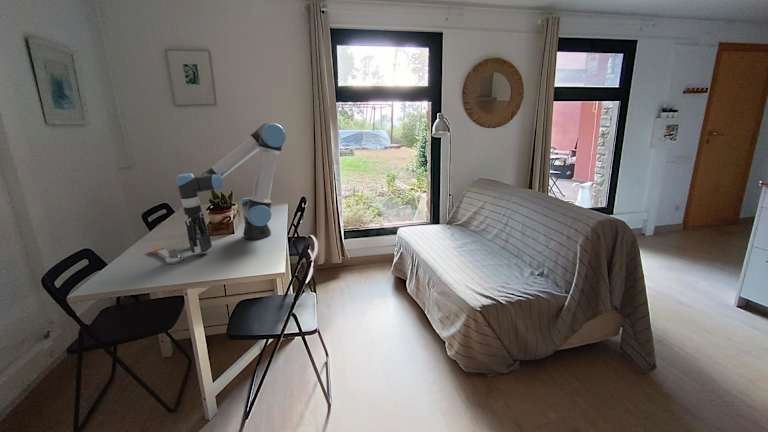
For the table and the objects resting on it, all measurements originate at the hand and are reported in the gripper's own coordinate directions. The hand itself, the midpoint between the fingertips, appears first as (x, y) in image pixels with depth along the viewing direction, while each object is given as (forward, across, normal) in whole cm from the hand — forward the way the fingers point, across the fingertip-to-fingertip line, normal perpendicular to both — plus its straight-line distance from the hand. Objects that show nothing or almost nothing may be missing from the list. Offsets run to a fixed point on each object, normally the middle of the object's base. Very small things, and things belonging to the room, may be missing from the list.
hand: (202, 249), depth 174 cm
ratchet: (+2, +1, -18) cm, 18 cm away
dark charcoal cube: (0, 0, 0) cm, 0 cm away
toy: (+3, -13, -8) cm, 15 cm away
